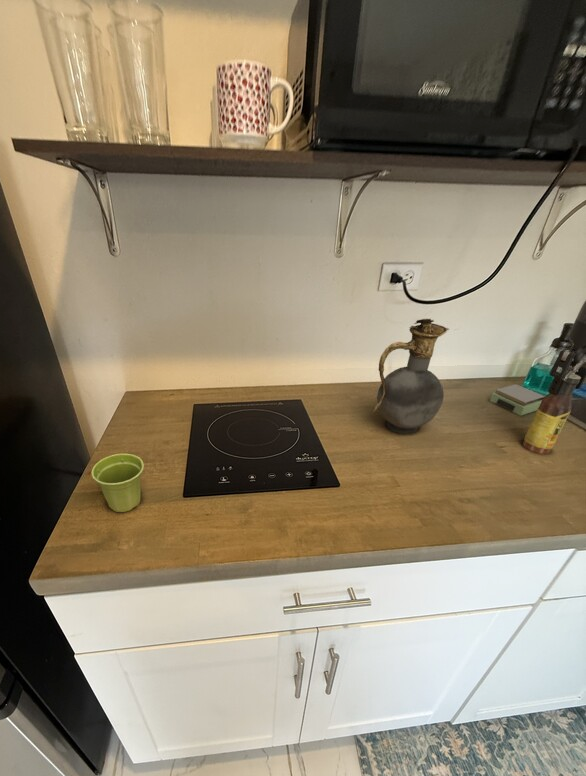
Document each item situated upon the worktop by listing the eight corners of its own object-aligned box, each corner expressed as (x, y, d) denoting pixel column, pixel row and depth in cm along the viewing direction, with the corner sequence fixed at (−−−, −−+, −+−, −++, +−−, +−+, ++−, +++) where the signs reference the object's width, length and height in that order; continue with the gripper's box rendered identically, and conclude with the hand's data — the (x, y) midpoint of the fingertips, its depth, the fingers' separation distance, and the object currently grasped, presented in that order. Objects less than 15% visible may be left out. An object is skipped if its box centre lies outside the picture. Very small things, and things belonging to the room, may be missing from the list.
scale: (510, 395, 123) (513, 387, 122) (541, 409, 116) (545, 400, 114) (488, 402, 119) (491, 393, 118) (519, 416, 112) (523, 407, 110)
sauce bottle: (548, 458, 95) (587, 384, 84) (519, 449, 98) (553, 376, 87) (551, 446, 99) (588, 374, 88) (523, 438, 102) (556, 367, 91)
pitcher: (439, 433, 103) (475, 321, 87) (376, 445, 98) (403, 327, 81) (413, 414, 111) (442, 308, 95) (355, 423, 106) (374, 313, 90)
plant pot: (151, 485, 82) (146, 451, 78) (146, 516, 75) (140, 481, 70) (105, 488, 81) (97, 454, 76) (96, 521, 73) (86, 485, 69)
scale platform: (514, 387, 121) (515, 384, 121) (543, 399, 114) (545, 396, 114) (495, 392, 118) (496, 389, 117) (524, 405, 111) (525, 402, 110)
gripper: (599, 329, 75) (562, 403, 84) (637, 321, 81) (598, 391, 90) (560, 319, 81) (528, 389, 90) (597, 312, 86) (564, 379, 95)
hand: (563, 390), depth 90 cm, fingers open, 8 cm apart
